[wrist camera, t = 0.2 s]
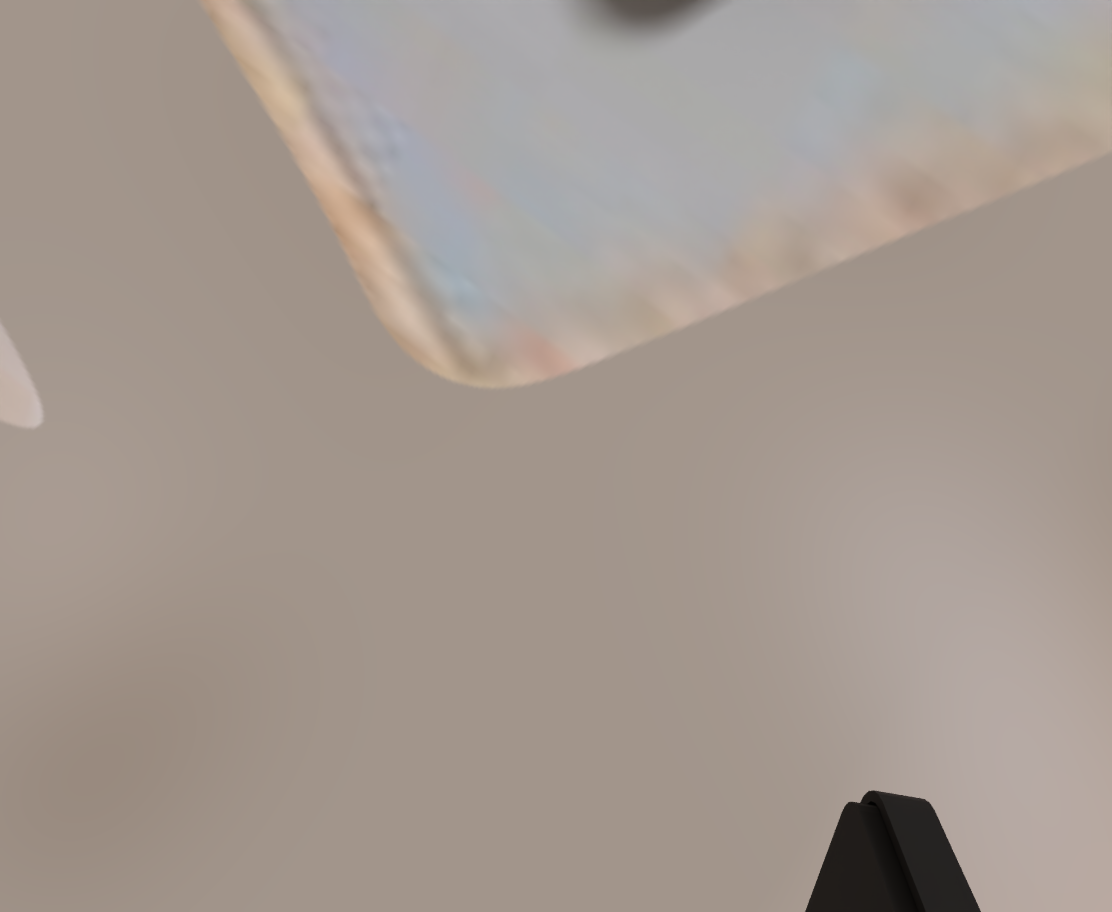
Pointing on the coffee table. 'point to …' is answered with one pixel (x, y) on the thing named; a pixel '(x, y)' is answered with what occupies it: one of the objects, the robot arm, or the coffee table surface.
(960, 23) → the coffee table surface
